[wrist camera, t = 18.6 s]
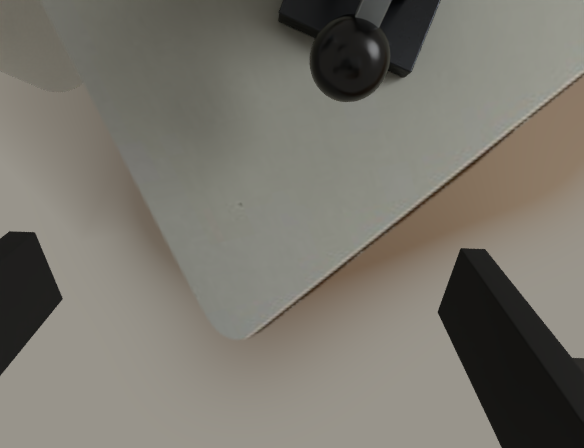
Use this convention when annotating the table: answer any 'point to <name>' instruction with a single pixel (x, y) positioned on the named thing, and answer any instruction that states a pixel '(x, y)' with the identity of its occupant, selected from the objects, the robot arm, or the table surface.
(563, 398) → the robot arm
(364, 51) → the lever
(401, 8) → the switch bracket
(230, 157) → the table surface
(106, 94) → the table surface
